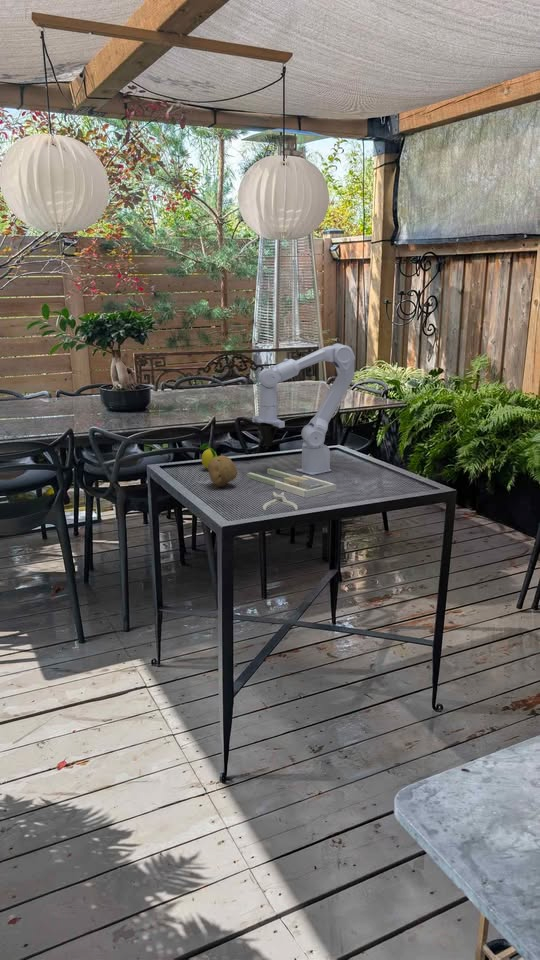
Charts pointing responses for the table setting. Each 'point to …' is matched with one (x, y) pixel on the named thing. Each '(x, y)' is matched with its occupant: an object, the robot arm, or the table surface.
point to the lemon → (207, 454)
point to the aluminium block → (309, 484)
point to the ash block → (294, 480)
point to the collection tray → (303, 492)
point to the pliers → (279, 498)
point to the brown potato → (222, 470)
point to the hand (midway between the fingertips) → (268, 445)
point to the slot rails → (266, 479)
